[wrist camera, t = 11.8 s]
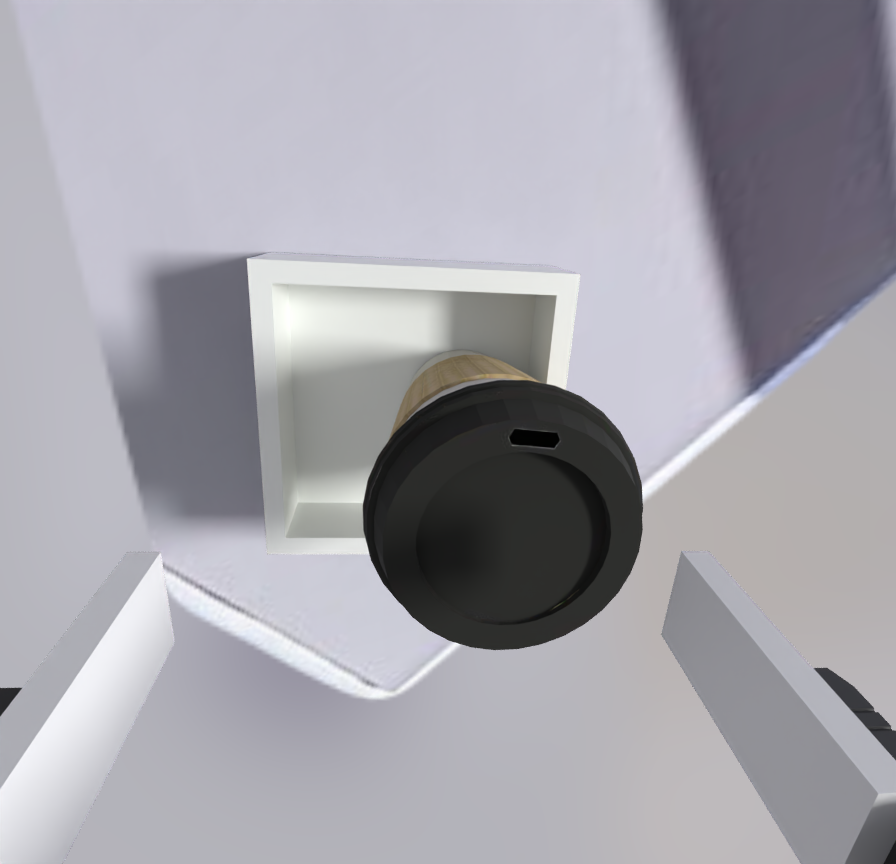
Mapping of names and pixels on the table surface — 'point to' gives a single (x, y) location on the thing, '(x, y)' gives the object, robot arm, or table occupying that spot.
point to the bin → (375, 367)
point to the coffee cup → (501, 505)
